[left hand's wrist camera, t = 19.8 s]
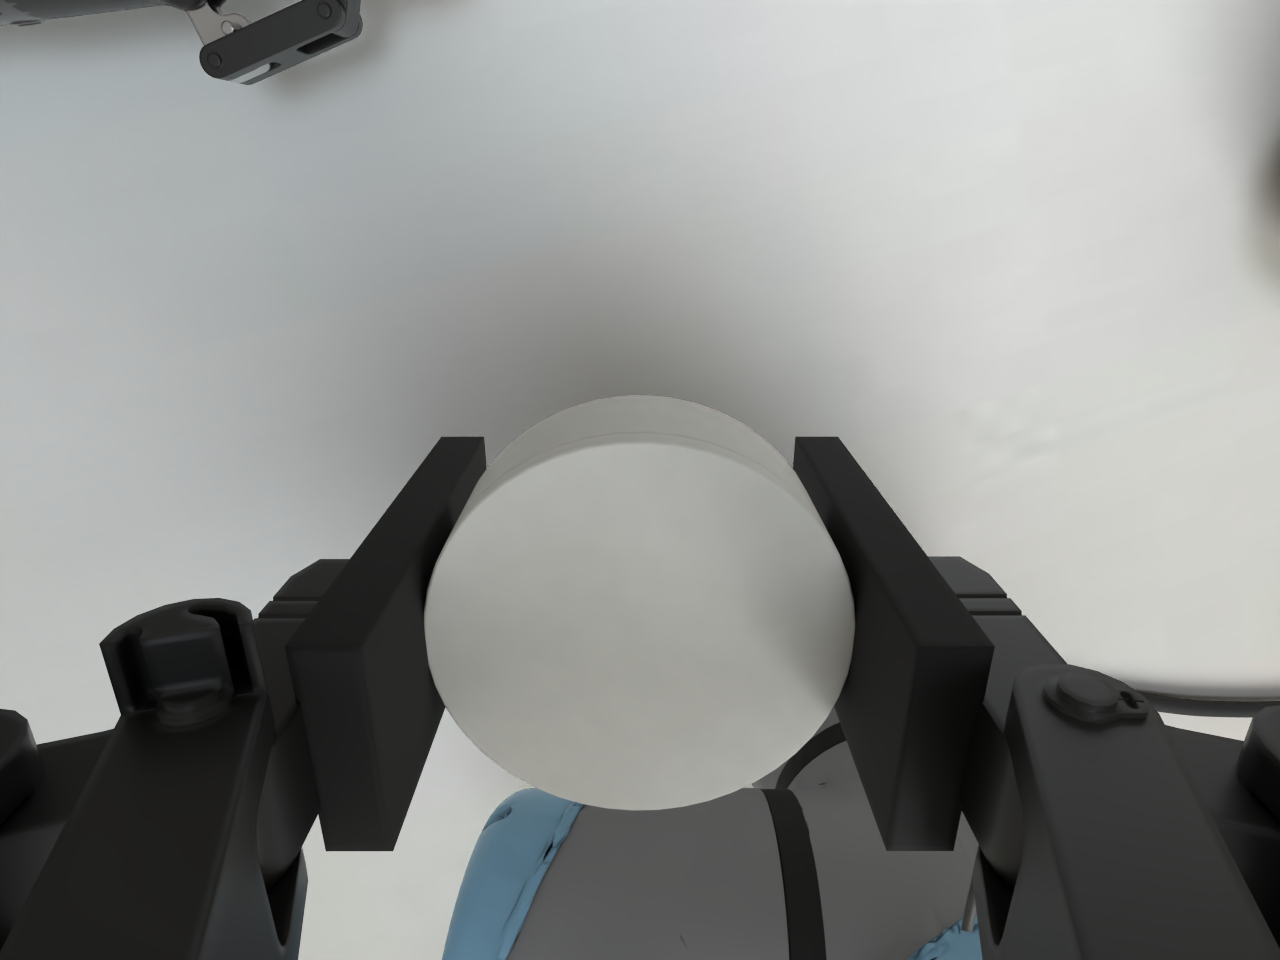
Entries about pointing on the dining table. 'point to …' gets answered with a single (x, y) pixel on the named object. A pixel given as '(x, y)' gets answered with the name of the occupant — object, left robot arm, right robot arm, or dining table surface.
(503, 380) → the dining table surface
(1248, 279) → the dining table surface
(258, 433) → the dining table surface
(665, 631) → the lid
